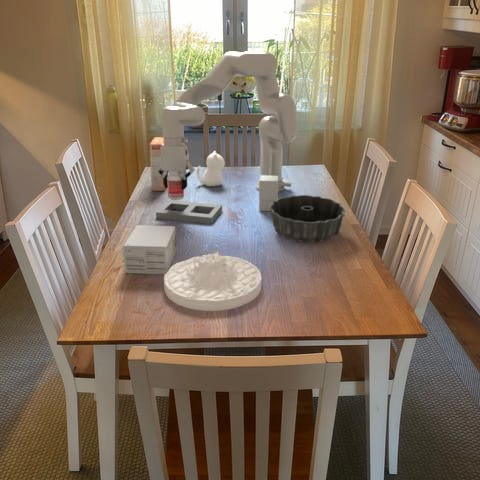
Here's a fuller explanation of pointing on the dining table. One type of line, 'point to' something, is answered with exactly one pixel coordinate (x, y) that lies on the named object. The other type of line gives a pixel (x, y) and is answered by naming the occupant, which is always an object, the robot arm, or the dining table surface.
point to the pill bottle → (175, 186)
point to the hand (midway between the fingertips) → (175, 187)
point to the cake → (212, 282)
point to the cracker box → (154, 160)
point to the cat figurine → (212, 170)
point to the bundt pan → (307, 218)
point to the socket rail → (189, 212)
